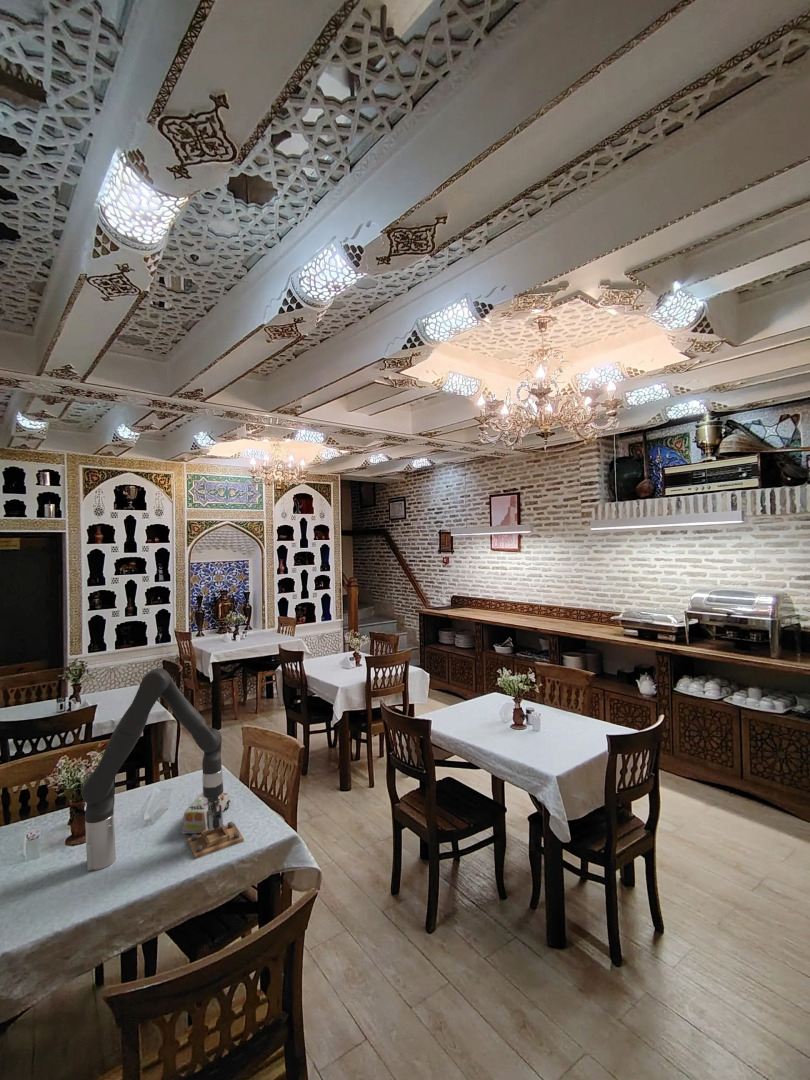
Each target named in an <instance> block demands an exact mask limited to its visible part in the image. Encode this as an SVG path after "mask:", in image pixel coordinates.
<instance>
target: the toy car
mask: <svg viewBox="0 0 810 1080" xmlns="http://www.w3.org/2000/svg"><path fill="white" fill-rule="evenodd" d="M230 797H231V795H230V793H229V792H223V793H222V794H221V795H220V796H219V797H218V799H220V805H221V810H222V813H223V812H224V810H226V811H228V809H229V806H230V803H231V799H230ZM207 811H208V804H207V798H205V797H204V796H203V792H201V793H200V794H199V795H198V796H197V797H196V798H195V799H194V801H193V802H192V803H191V804H190V805H189V806H188V807H187V809H186V810H185V811H184V813H183V816H182V821H181V822H182V823H181V826H182V831H181V833H182V834H201V831H204V830H207V829H208V827H207Z"/></svg>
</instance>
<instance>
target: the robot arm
mask: <svg viewBox="0 0 810 1080" xmlns="http://www.w3.org/2000/svg"><path fill="white" fill-rule="evenodd" d="M160 697H161V698H162V699H163V700H164V701H165V702H166V703H167V704H168V706H169V707H170V709H171V710H172V712H173V714H174V716H175V717H176V719H177V720H178V721H179V723H180V724H181V725H182V726H183V727H184V729H186V731H187V732H189V734H190V735H191V737H192V739H193V740H194V742H195V744H196V746H197V747H199V748H200V750H201V751H202V752H203V758H202V763H201V765H202V777H201V778H202V779H201V780H202V793H203V796H204V797H205V798H207V804H208V811H209V809H210V811H211V814H212V817H213V818H212V819H213V828H214V829H216V828H219V819H220V818H221V805H220V799H218V797H219V796H220V795H221V794H222V793H224V777H223V770H222V769H223V768H222V745H223V744H222V742H223V741H222V735H221V732H220V731H219V729H216V728H209V727H208V726H207V721H206V719H205V718H204V717H203V715H202V714H201V713H200V712H199V711H198V710H197V709H196V708H195V707H194V706H193V705H192V704H191V702H189V700H188V699H187V698H186V697H185V695H184V694H183V693H182V691H181V690H180V689H179V688H178V686H177V684H176V683H175V682H174V680H173V678H172V677H171V674H170V673H169V672H168V671H167V670H165V669H164V668H154V669H151V670H150V671H149V672H148V673H146V674H145V675H144V676H143V678H142V680H141V682H140V684H139V686H138V689H137V691H136V694H135V696H134V698H133V700H132V701H131V702H132V703H131V704H130V706H129V707H128V709H127V710H126V711H125V713H124V714H123V716H122V717H121V719H120V721H119V722H118V723H117V725H116V727H115V729H114V730H113V733H112V734H111V736H110V738H109V741H108V742H107V745H106V747H105V749H104V751H103V753H102V756H101V758H100V761H99V762H98V764H97V766H96V768H95V769H94V771H93V772H92V774H90V775H89V776H88V778H87V779H86V781H85V782H84V784H83V786H82V788H81V797H82V799H83V802H85V803H86V805H85V806H86V807H85V811H84V823H85V826H84V827H85V850H86V851H85V852H86V867H87V872H90V871H97V870H102V869H104V868H107V867H108V866H110V865H112V864H113V863H114V862H115V861H116V859H117V852H116V830H115V828H116V827H115V813H114V812H115V811H114V809H115V779H116V776H117V774H118V772H119V771H120V768H121V767H122V766H123V764H124V763H125V761H126V760H127V758H128V757H129V755H130V754H131V752H132V751H133V749H134V748H135V746H136V744H137V743H138V741H139V739H140V737H141V736H142V734H143V732H144V729H145V727H146V725H147V722H148V719H149V716H150V713H151V710H152V709H153V708H154V705H155V704H156V703H157V701H158V700H159V698H160ZM212 810H214V811H212Z"/></svg>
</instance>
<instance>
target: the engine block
mask: <svg viewBox="0 0 810 1080" xmlns="http://www.w3.org/2000/svg"><path fill="white" fill-rule="evenodd" d="M212 811H214V810H212ZM212 818H213V817H212V814H211V811H210V809H209V811H207V827H208V829H209V831H211V830H214V828H213V819H212ZM223 825H224V821H223V812H222V810H221V818H220V819H219V828H220V827H223ZM216 829H217V828H216Z"/></svg>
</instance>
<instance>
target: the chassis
mask: <svg viewBox="0 0 810 1080" xmlns="http://www.w3.org/2000/svg"><path fill="white" fill-rule="evenodd" d="M243 842H245V839H244V837H243V835H242V833H241V832H240V830H239V829H238V827H237V826H236V823H234V822H233V821H229V822H227V824H226V825H224V824H223V827H220V828H217V829H214V830H211V831H209V829H207V830H204V831H201V833H192V834H191V837H188V838H187V843H188V845H189V848H190V849H191V853H192V855H193V857H194V859H195V860H196V859H199V858H202V857H204V856H207V855H210V854H213V853H216V852H218V851H221V850H223V849H227V848H229V847H233V846H235V845H238V844H240V843H243Z"/></svg>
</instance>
